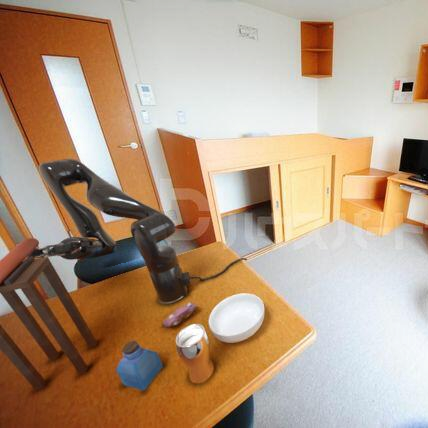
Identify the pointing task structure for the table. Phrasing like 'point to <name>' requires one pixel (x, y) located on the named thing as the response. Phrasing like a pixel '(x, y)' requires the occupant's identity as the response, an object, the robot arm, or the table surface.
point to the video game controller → (179, 314)
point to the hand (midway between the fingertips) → (49, 248)
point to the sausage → (16, 257)
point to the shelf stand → (24, 281)
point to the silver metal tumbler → (195, 352)
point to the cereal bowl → (237, 317)
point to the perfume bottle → (138, 366)
